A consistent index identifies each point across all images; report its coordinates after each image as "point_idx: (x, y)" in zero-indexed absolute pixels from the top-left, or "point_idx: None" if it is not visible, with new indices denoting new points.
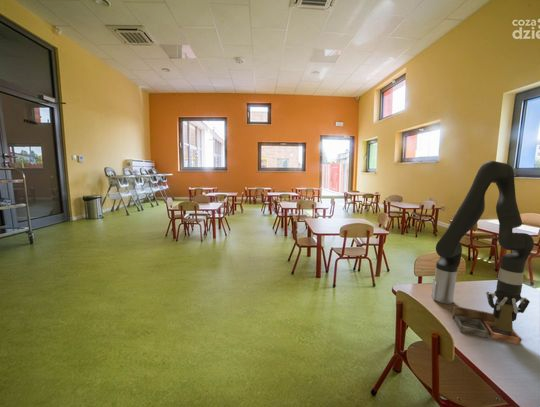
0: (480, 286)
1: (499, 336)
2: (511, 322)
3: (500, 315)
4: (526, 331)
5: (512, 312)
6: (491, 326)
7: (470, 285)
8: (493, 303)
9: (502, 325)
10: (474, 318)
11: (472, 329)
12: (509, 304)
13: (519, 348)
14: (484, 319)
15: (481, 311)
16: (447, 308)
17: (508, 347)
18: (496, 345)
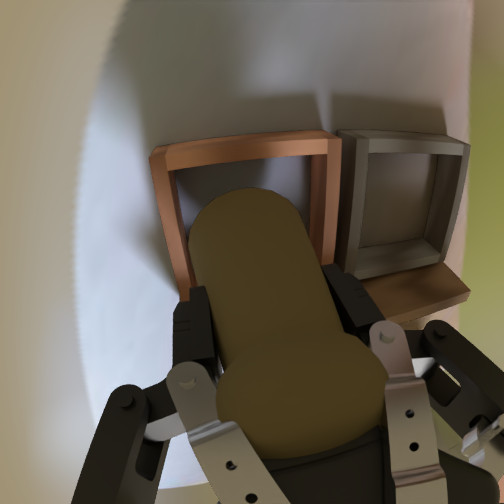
0: None
1: (286, 137)
2: (215, 258)
3: (327, 286)
4: (108, 323)
5: (217, 367)
6: None
7: None
8: (461, 365)
9: (281, 212)
10: (367, 281)
11: (429, 140)
12: (300, 454)
13: (173, 93)
14: None
15: None
16: (403, 326)
17: (243, 66)
18: (313, 57)
